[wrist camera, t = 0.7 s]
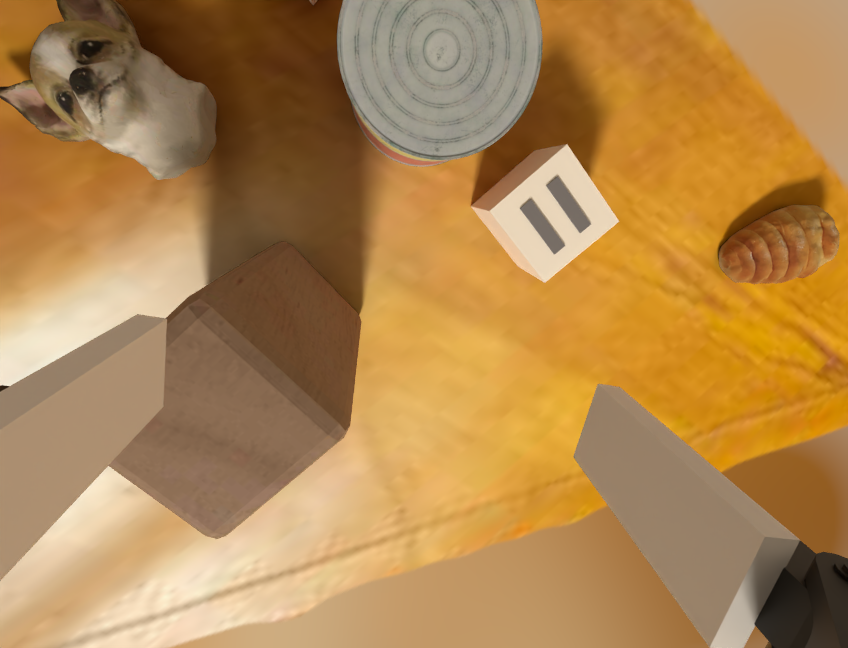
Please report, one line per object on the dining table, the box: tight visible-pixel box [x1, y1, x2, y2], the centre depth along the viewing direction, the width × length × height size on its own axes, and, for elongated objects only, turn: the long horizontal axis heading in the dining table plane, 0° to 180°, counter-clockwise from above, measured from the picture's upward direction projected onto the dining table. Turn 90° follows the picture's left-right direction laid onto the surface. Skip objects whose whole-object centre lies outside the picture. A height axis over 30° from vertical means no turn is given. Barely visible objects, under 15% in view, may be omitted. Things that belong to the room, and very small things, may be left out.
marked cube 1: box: [471, 144, 619, 283], centre depth 36 cm, size 7×7×7 cm
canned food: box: [337, 0, 542, 167], centre depth 30 cm, size 11×11×12 cm
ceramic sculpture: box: [0, 0, 217, 180], centre depth 31 cm, size 11×9×15 cm
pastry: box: [719, 205, 839, 284], centre depth 41 cm, size 9×7×4 cm
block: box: [108, 241, 361, 539], centre depth 31 cm, size 10×10×20 cm
